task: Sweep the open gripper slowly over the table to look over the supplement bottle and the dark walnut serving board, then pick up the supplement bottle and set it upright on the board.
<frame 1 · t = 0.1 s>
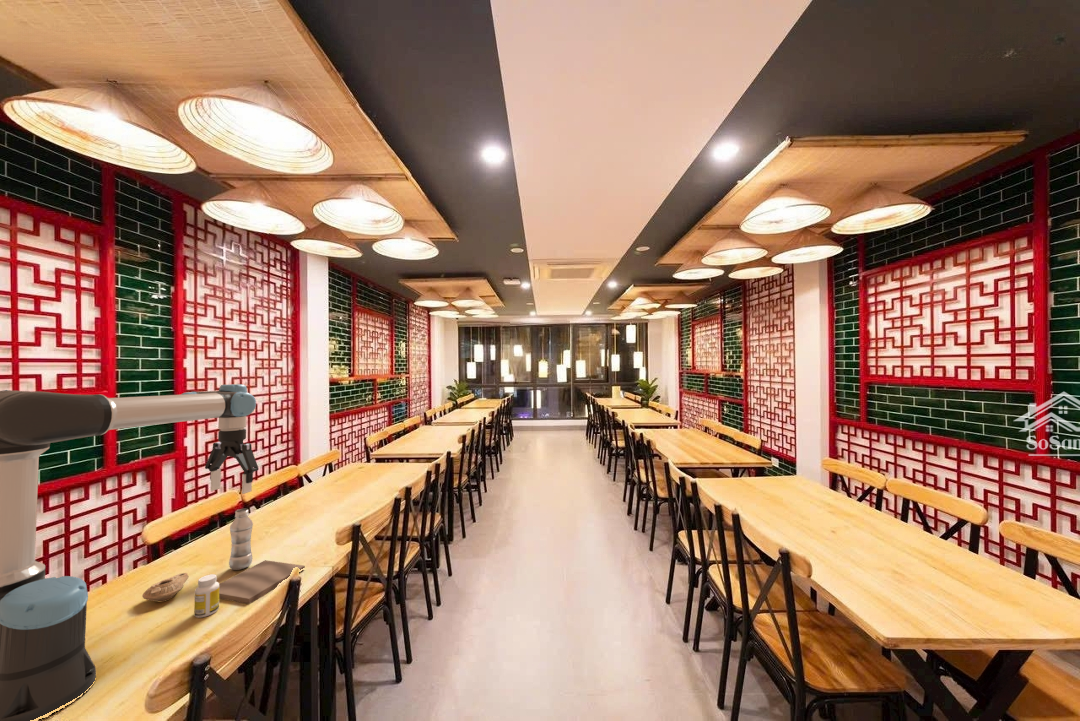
hand: (230, 491, 132), 28 cm above the table, tool pointing down, fingers open, 13 cm apart
serving board: (257, 582, 126), on the table
pottery oil lamp: (170, 596, 118), on the table
supplement bottle: (206, 613, 110), on the table
plastic bottle: (240, 568, 135), on the table
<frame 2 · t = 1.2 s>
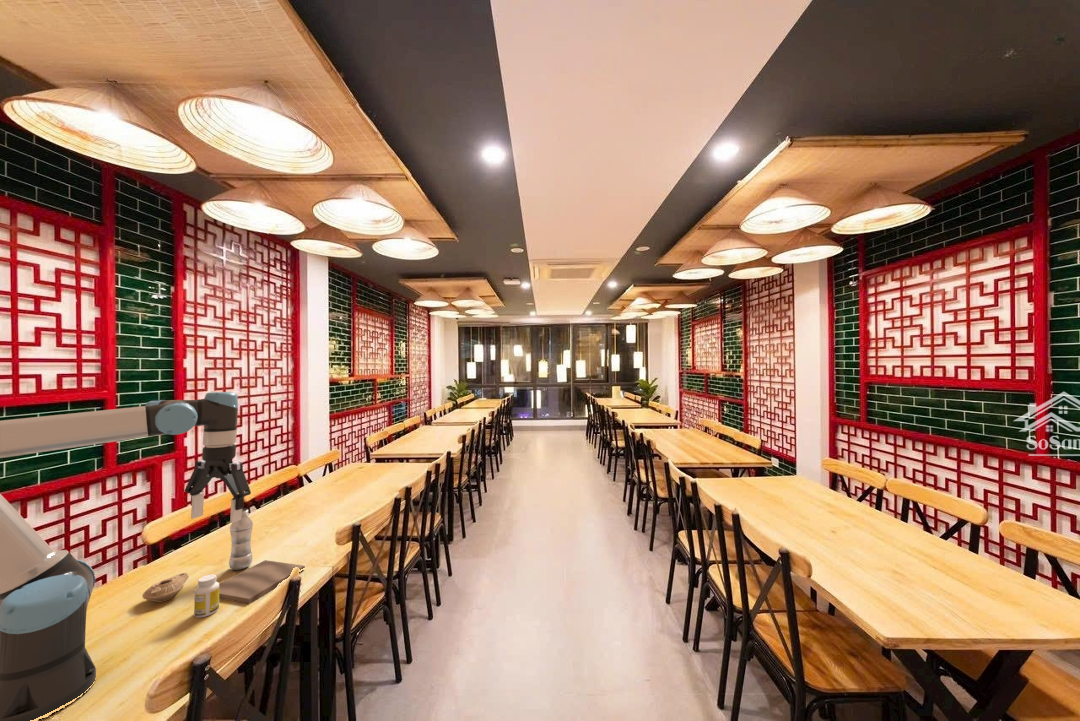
hand: (216, 519, 111), 26 cm above the table, tool pointing down, fingers open, 13 cm apart
nothing on the table moved.
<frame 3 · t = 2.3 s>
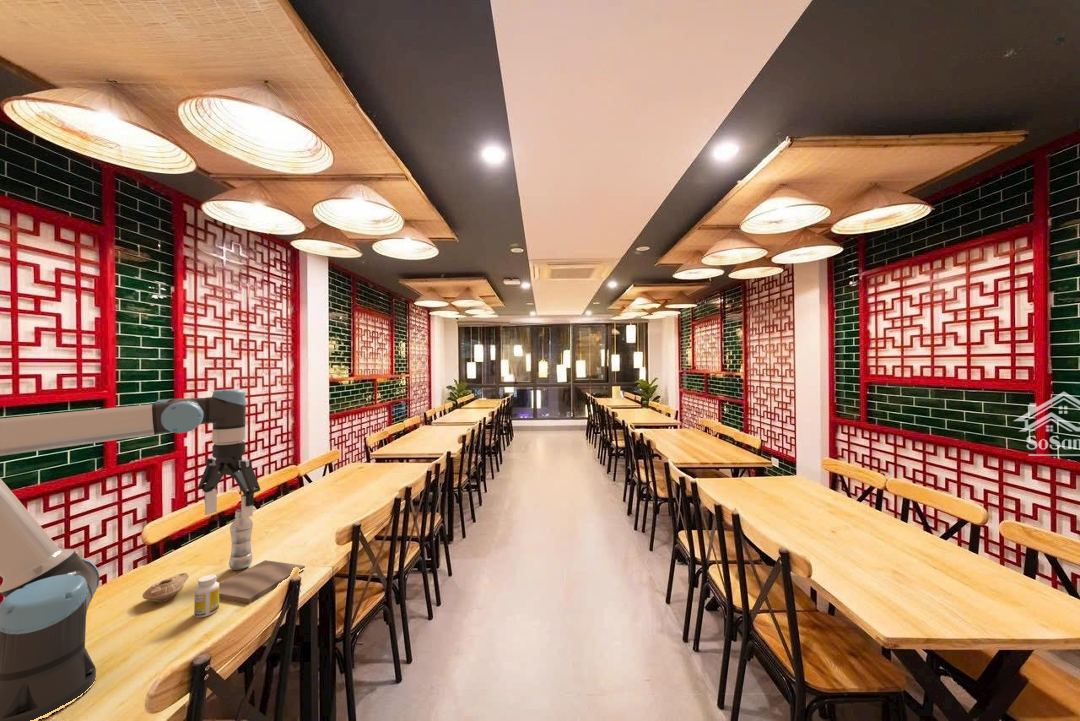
hand: (228, 515, 112), 27 cm above the table, tool pointing down, fingers open, 13 cm apart
nothing on the table moved.
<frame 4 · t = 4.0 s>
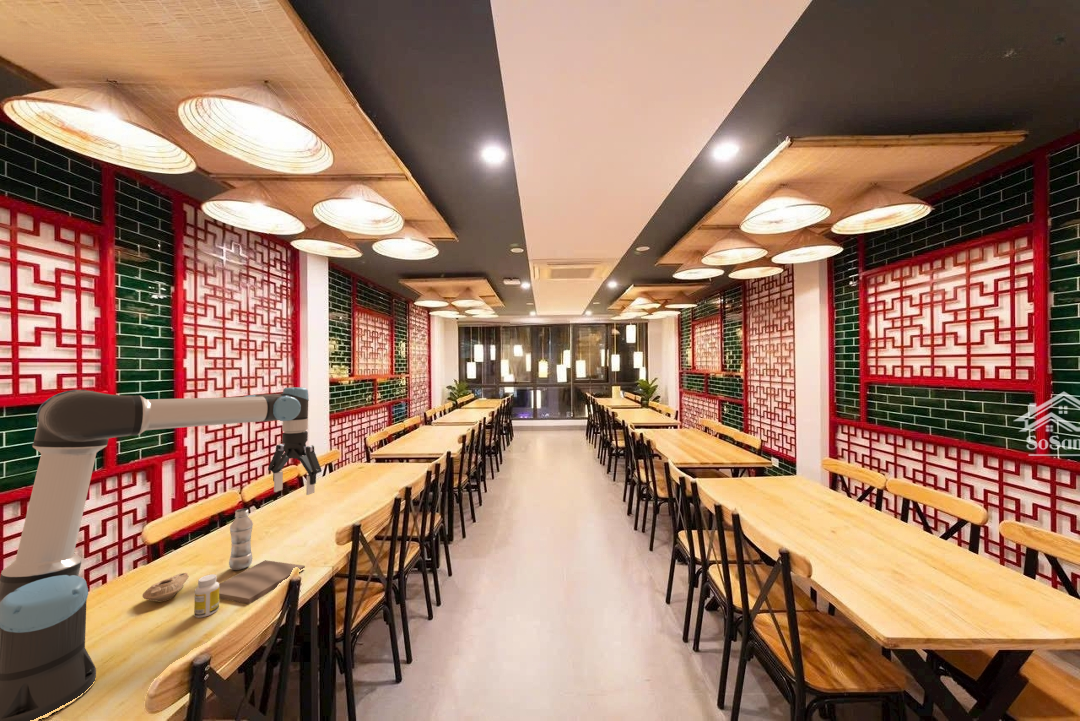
hand: (294, 492, 134), 27 cm above the table, tool pointing down, fingers open, 13 cm apart
nothing on the table moved.
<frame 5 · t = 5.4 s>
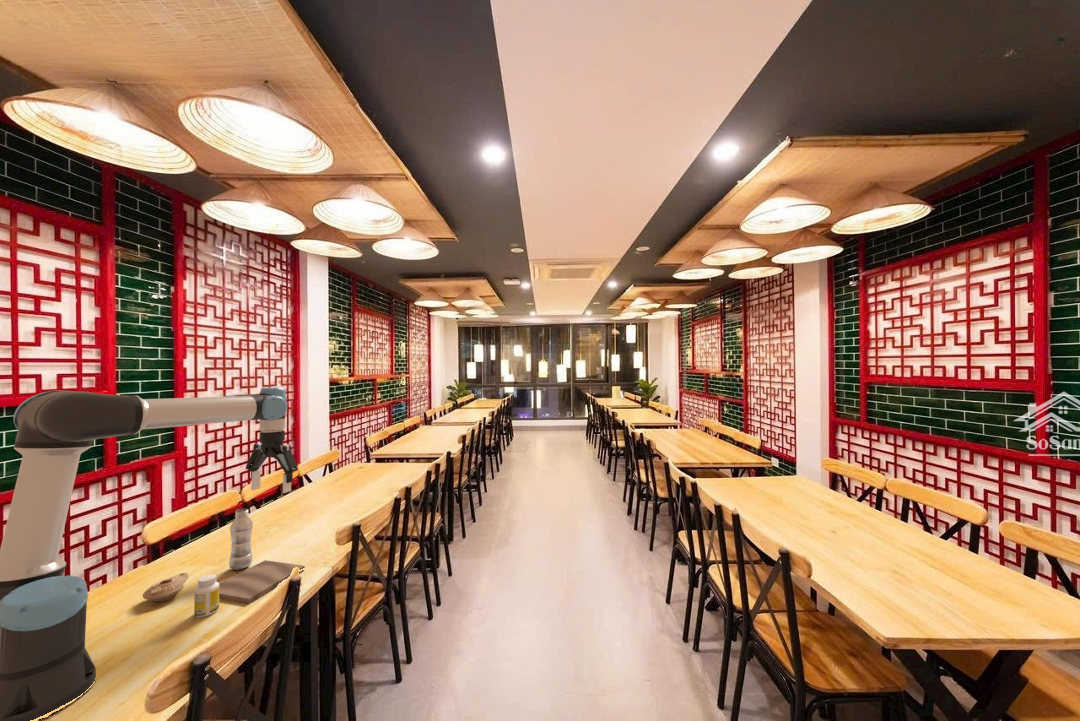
hand: (271, 490, 137), 27 cm above the table, tool pointing down, fingers open, 13 cm apart
nothing on the table moved.
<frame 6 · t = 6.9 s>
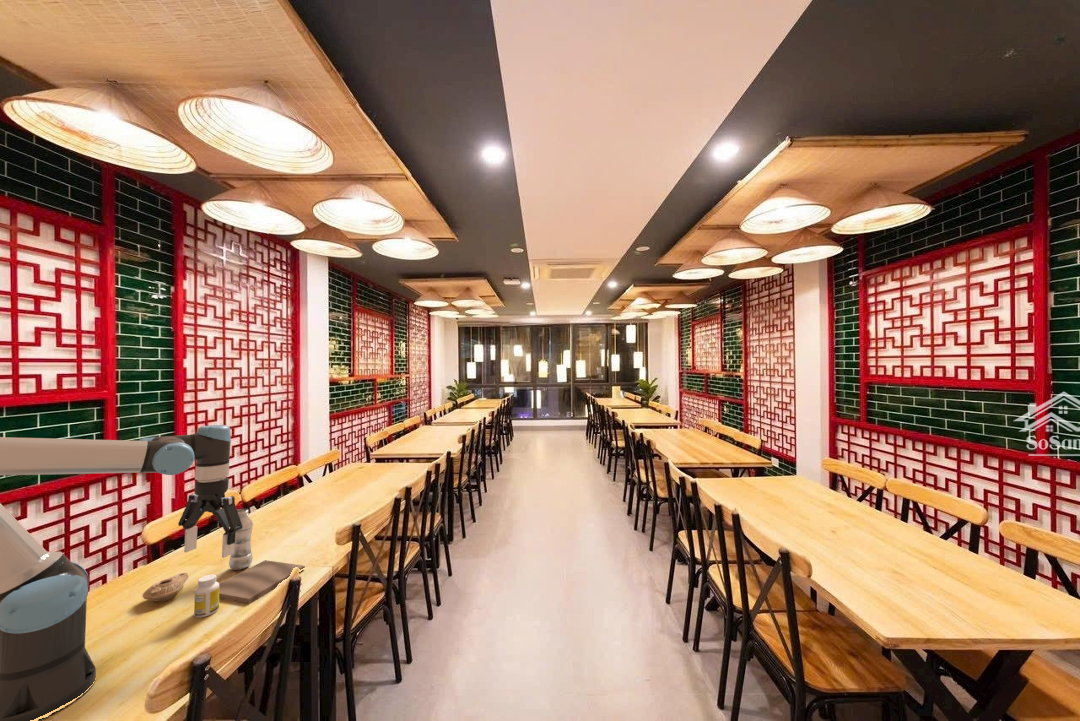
hand: (208, 553, 111), 16 cm above the table, tool pointing down, fingers open, 13 cm apart
nothing on the table moved.
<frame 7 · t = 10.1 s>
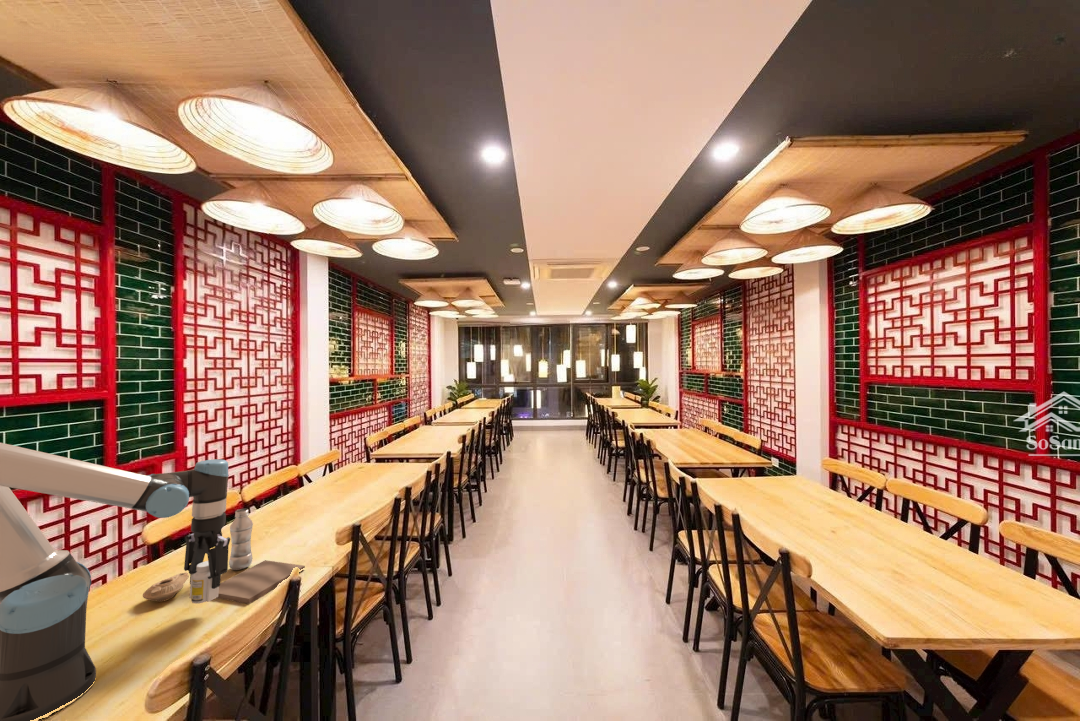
hand: (204, 597, 110), 5 cm above the table, tool pointing down, fingers closed on supplement bottle, 5 cm apart
supplement bottle: (203, 599, 110), point 4 cm above the table, touching gripper
everything else where it was.
when the fingers open (2 cm above the table, at t = 14.6 s): supplement bottle stays where it is, resting on serving board.
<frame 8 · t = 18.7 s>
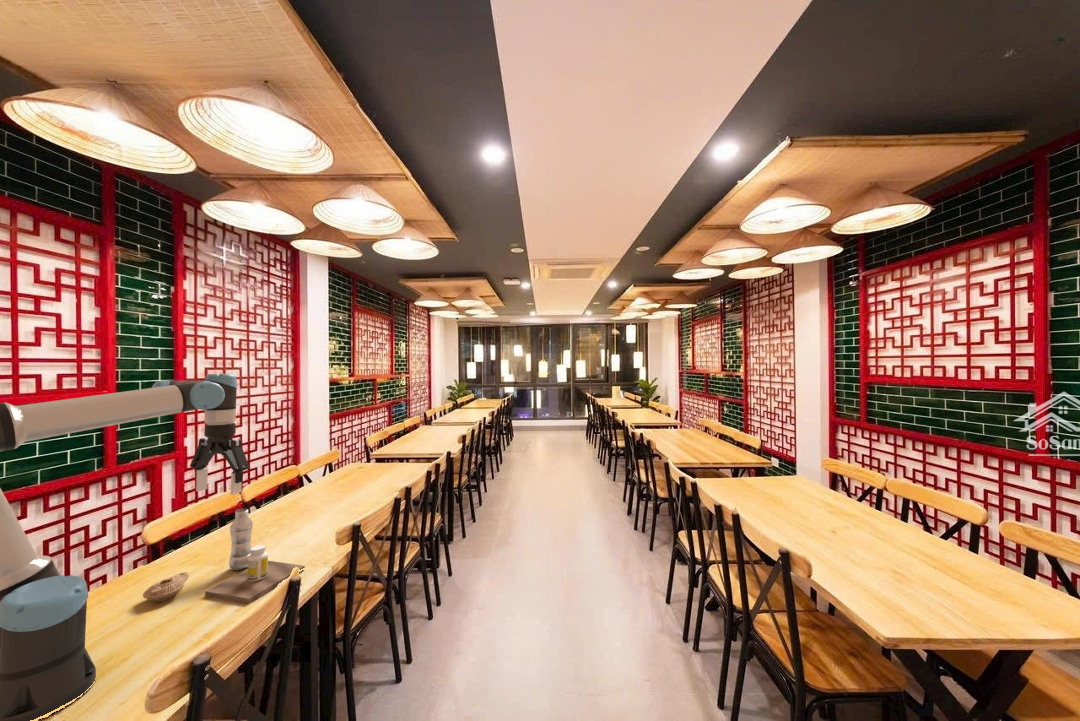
hand: (218, 491, 119), 32 cm above the table, tool pointing down, fingers open, 13 cm apart
supplement bottle: (257, 578, 126), point 1 cm above the table, touching serving board
everything else where it was.
at the end: supplement bottle inside the target area on the serving board (0.1 cm from its centre), point 1.3 cm above the serving board's base; supplement bottle tilted 0°; the gripper is holding nothing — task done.
